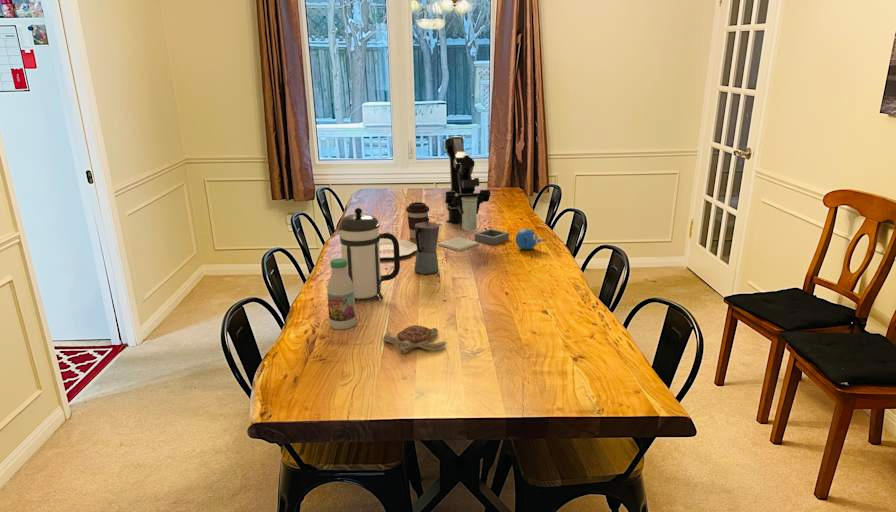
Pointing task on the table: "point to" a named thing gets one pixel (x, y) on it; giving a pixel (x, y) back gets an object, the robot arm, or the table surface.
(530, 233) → the blue mole toy
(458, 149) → the robot arm
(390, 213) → the table surface
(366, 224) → the coffee press
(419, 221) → the coffee cup
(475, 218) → the grey domed cup
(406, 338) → the decorative turtle
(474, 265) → the table surface
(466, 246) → the plate
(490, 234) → the holder
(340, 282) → the milk bottle
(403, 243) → the plate
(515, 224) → the table surface
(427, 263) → the moka pot
